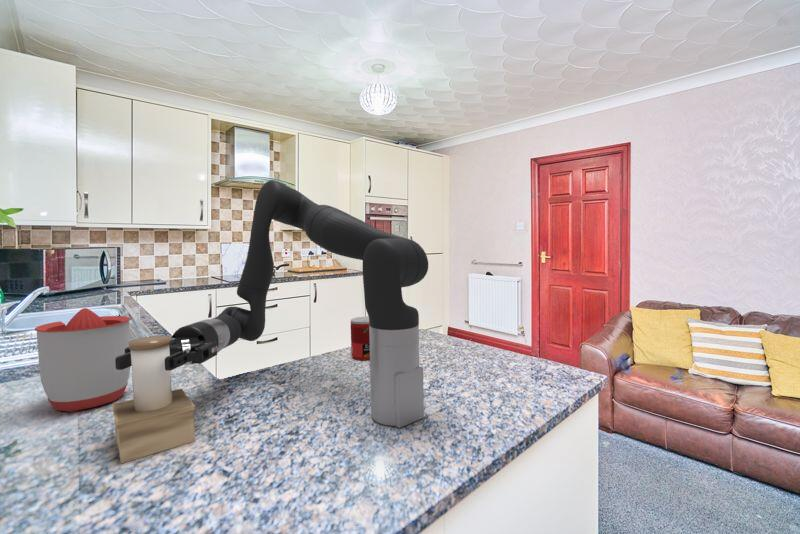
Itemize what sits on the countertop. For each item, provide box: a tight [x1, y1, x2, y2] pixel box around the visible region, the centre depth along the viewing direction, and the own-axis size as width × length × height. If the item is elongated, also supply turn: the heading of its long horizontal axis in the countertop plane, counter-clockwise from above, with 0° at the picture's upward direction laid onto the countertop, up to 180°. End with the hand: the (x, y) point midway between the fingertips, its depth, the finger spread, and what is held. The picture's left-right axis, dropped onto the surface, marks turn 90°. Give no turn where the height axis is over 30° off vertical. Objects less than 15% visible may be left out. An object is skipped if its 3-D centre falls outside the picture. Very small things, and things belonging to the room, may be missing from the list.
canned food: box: [350, 316, 370, 361], centre depth 111 cm, size 8×8×11 cm
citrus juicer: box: [34, 307, 132, 413], centre depth 82 cm, size 16×17×20 cm
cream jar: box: [129, 335, 173, 412], centre depth 64 cm, size 6×6×11 cm
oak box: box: [111, 388, 196, 464], centre depth 64 cm, size 10×10×6 cm
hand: (142, 364), depth 62 cm, fingers open, 8 cm apart
